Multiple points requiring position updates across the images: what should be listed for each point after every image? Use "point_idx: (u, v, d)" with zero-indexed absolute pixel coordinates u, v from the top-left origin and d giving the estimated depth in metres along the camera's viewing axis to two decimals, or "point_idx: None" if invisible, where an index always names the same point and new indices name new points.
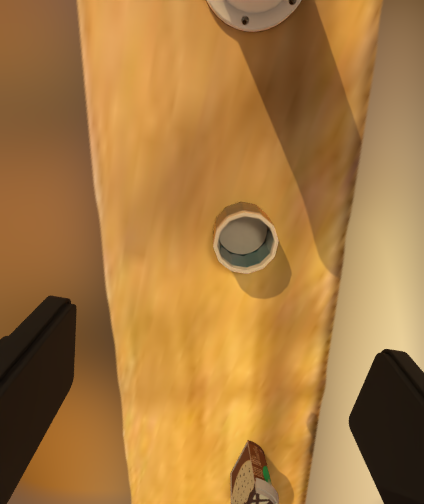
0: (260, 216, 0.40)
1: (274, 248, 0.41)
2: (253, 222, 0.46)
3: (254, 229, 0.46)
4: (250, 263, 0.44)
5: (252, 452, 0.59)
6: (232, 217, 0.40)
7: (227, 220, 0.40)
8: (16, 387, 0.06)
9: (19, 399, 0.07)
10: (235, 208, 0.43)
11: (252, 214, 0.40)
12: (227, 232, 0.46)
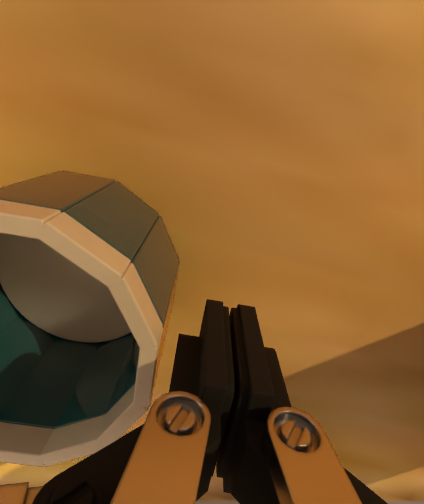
0: (143, 406, 0.09)
1: (12, 455, 0.10)
2: (115, 305, 0.14)
3: (92, 308, 0.14)
4: None
5: None
6: (127, 299, 0.08)
7: (109, 276, 0.08)
8: None
9: None
10: (162, 267, 0.11)
11: (149, 377, 0.09)
12: None
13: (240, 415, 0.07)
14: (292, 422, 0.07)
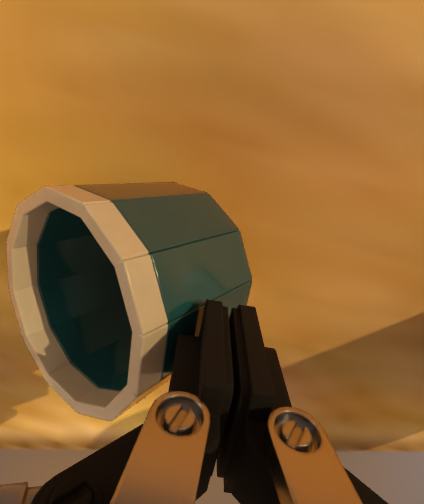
0: (133, 391, 0.10)
1: (62, 391, 0.12)
2: None
3: None
4: (60, 294, 0.15)
5: None
6: (125, 281, 0.09)
7: (115, 257, 0.09)
8: None
9: None
10: (207, 275, 0.11)
11: (138, 365, 0.09)
12: None
13: (240, 415, 0.07)
14: (292, 422, 0.07)
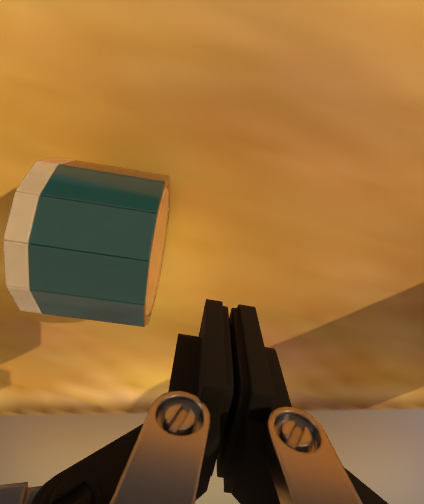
0: None
1: None
2: None
3: None
4: None
5: None
6: (13, 204, 0.14)
7: None
8: None
9: None
10: (86, 230, 0.14)
11: None
12: None
13: (240, 415, 0.07)
14: (292, 422, 0.07)
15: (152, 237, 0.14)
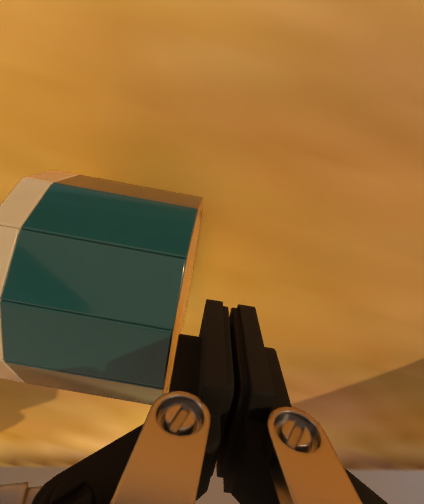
0: None
1: None
2: None
3: None
4: None
5: None
6: None
7: None
8: None
9: None
10: (83, 282, 0.09)
11: None
12: None
13: (240, 415, 0.07)
14: (292, 422, 0.07)
15: (178, 294, 0.10)
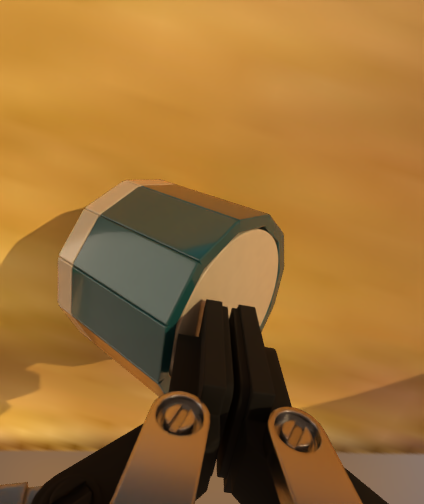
0: None
1: None
2: None
3: None
4: None
5: None
6: None
7: None
8: None
9: None
10: (120, 264, 0.11)
11: None
12: None
13: (241, 415, 0.07)
14: (293, 422, 0.07)
15: (181, 294, 0.10)
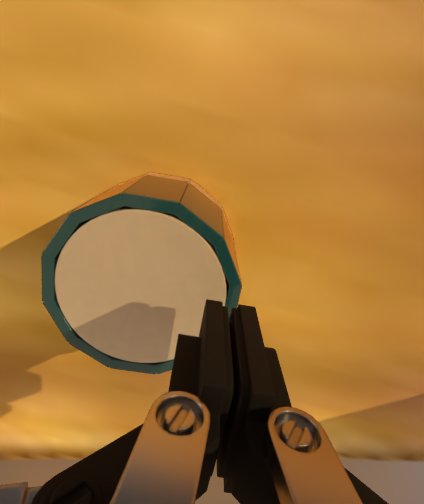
0: None
1: None
2: None
3: None
4: None
5: None
6: None
7: None
8: None
9: None
10: None
11: None
12: None
13: (240, 415, 0.07)
14: (292, 422, 0.07)
15: (55, 234, 0.13)
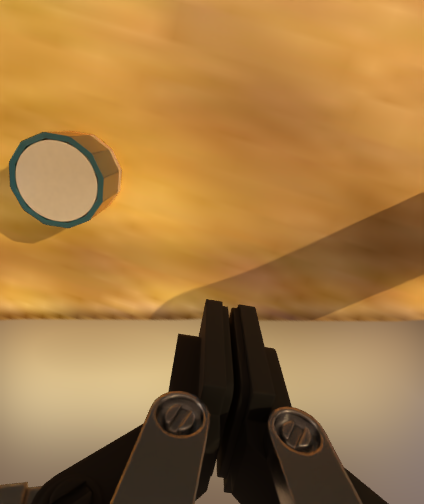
0: None
1: None
2: None
3: None
4: None
5: None
6: None
7: None
8: None
9: None
10: None
11: None
12: None
13: (240, 415, 0.07)
14: (292, 422, 0.07)
15: None
